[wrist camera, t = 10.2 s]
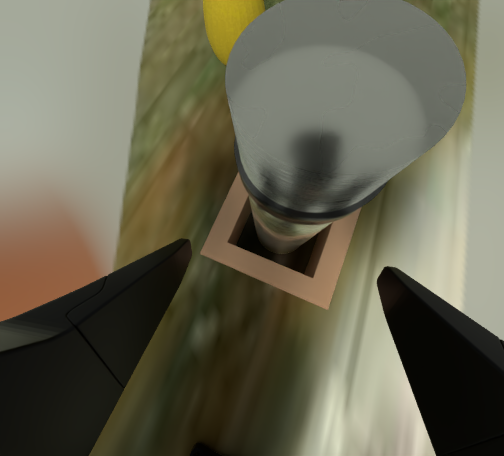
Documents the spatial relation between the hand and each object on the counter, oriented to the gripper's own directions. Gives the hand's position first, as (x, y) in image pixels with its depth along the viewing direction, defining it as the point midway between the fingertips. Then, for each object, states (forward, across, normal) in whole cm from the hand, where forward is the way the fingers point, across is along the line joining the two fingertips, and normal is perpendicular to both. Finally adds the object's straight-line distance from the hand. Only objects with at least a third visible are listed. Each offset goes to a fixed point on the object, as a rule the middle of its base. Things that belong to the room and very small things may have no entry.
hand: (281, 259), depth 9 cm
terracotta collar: (+8, 0, +3) cm, 9 cm away
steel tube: (+8, 0, +3) cm, 8 cm away
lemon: (+20, +6, -9) cm, 23 cm away
